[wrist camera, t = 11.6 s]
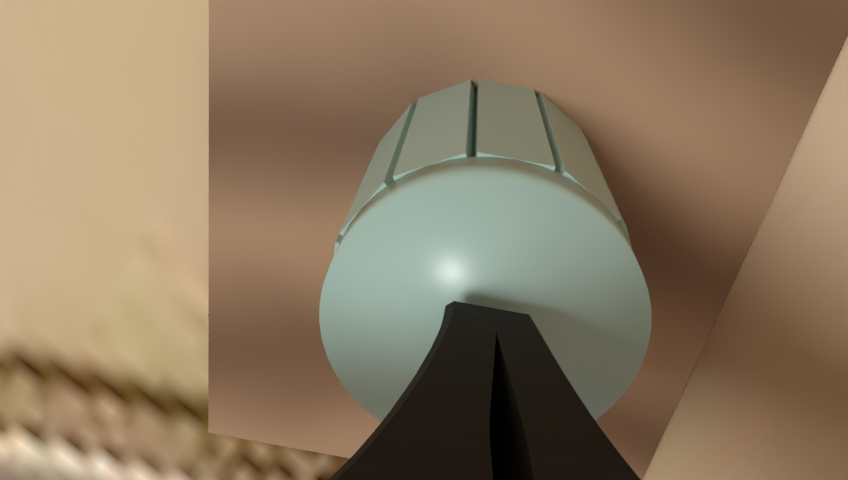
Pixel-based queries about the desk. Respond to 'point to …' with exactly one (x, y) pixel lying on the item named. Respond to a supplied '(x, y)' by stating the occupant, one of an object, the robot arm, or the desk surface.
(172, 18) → the desk surface
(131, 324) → the desk surface
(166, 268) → the desk surface
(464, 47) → the walnut board
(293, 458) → the desk surface
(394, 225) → the cap
